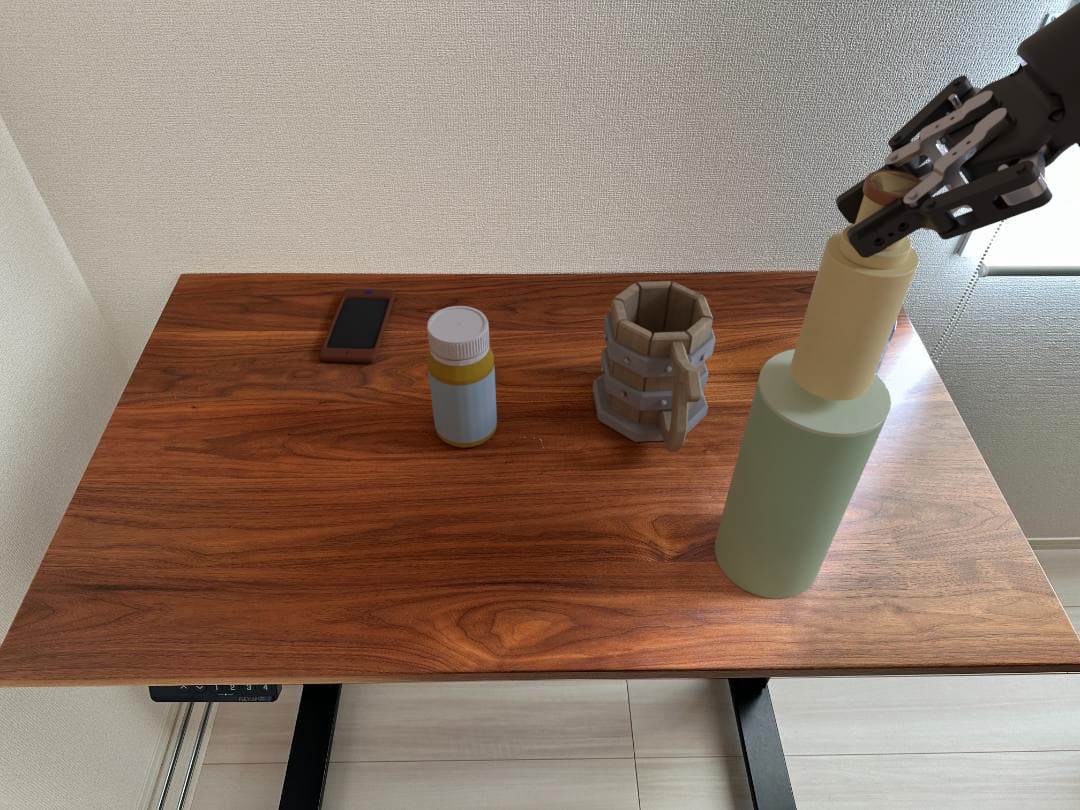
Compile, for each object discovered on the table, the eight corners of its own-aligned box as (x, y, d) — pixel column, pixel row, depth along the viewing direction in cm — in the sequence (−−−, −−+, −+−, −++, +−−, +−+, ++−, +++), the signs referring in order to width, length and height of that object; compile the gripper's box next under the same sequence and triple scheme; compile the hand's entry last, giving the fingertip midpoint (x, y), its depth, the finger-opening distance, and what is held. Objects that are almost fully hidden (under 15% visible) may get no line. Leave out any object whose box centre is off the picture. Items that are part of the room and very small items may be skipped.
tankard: (588, 371, 95) (595, 268, 85) (689, 366, 96) (708, 264, 86) (611, 495, 81) (623, 390, 71) (729, 489, 82) (758, 384, 71)
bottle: (459, 400, 91) (449, 295, 81) (508, 421, 89) (505, 316, 78) (423, 436, 87) (408, 330, 77) (474, 459, 84) (466, 354, 74)
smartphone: (395, 288, 106) (373, 358, 95) (396, 294, 107) (374, 364, 96) (344, 287, 106) (316, 356, 95) (345, 292, 107) (318, 362, 96)
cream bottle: (876, 363, 60) (951, 172, 49) (863, 410, 57) (941, 215, 46) (799, 341, 62) (855, 154, 51) (782, 386, 58) (838, 193, 47)
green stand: (827, 535, 77) (899, 369, 62) (806, 615, 71) (880, 450, 56) (730, 501, 80) (776, 335, 65) (701, 574, 74) (744, 408, 59)
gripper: (1062, -47, 45) (801, 142, 54) (1182, 34, 35) (836, 249, 44) (1110, 51, 48) (857, 214, 58) (1233, 151, 38) (901, 329, 47)
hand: (849, 228), depth 51 cm, fingers closed on cream bottle, 3 cm apart
